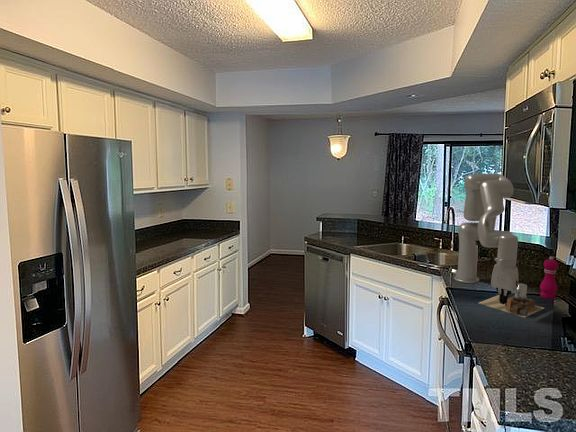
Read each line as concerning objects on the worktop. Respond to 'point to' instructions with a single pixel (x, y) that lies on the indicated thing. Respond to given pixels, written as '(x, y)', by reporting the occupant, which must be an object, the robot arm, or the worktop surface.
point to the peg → (521, 293)
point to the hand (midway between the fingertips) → (503, 303)
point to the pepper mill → (549, 279)
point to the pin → (520, 311)
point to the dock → (502, 307)
